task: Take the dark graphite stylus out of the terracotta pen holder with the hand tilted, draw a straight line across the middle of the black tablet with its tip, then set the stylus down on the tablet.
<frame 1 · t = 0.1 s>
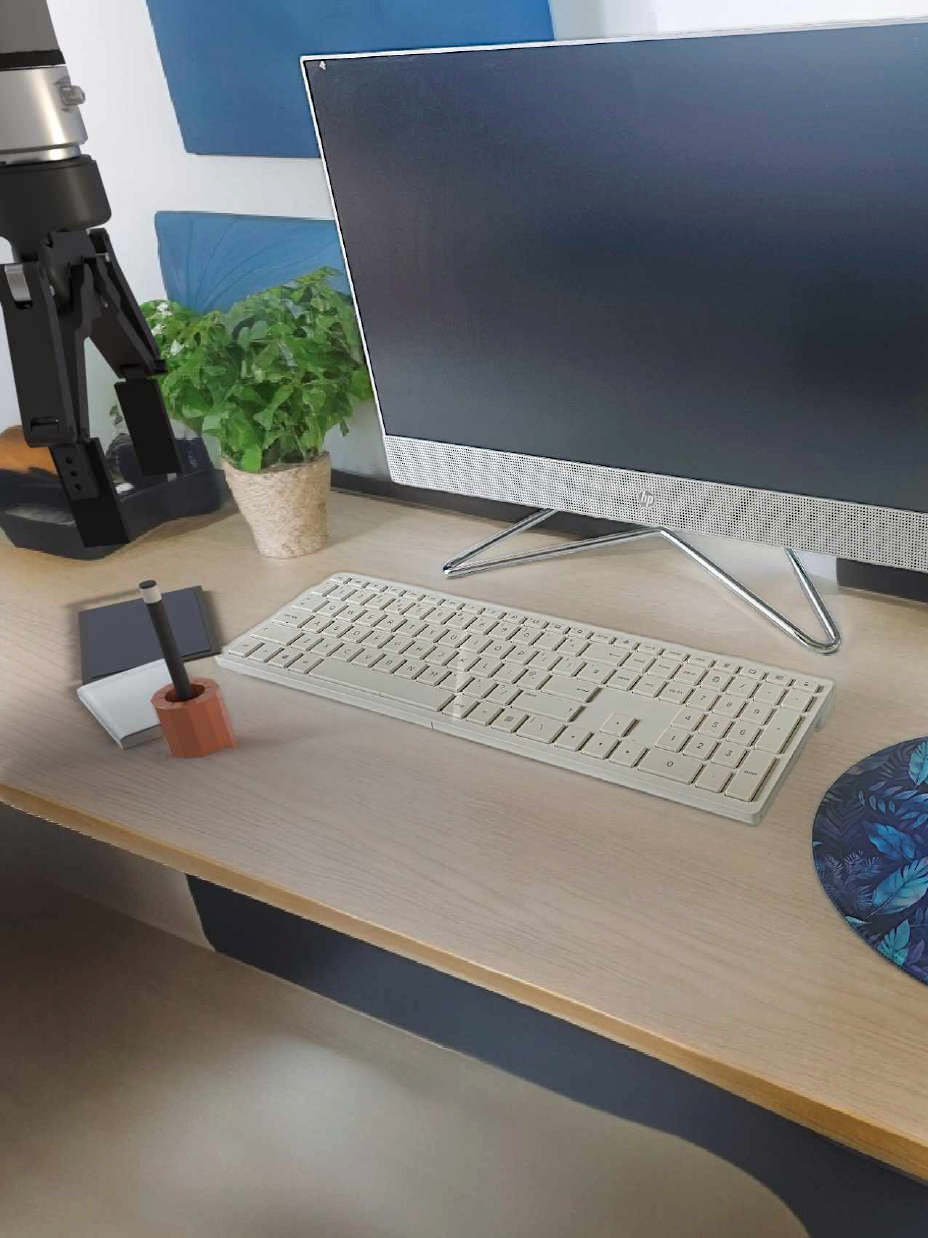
hand: (138, 506, 80), 24 cm above the table, tool pointing down, fingers open, 13 cm apart
hard drive: (151, 712, 105), on the table
stylus: (204, 750, 98), resting on pen holder
tablet: (148, 637, 118), on the table
pen holder: (206, 756, 98), on the table
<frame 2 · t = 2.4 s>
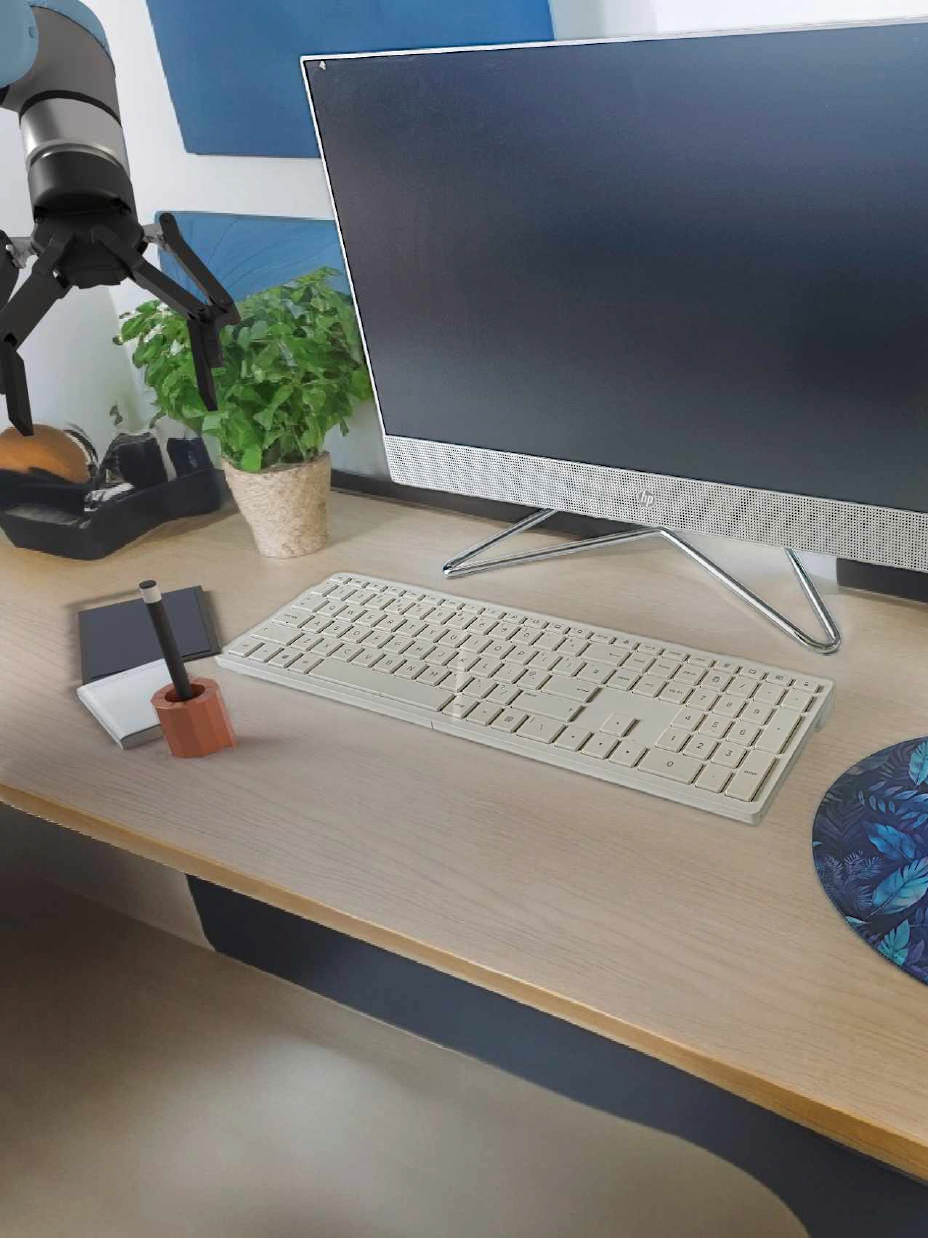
hand: (116, 415, 92), 26 cm above the table, tool tilted 45°, fingers open, 13 cm apart
nothing on the table moved.
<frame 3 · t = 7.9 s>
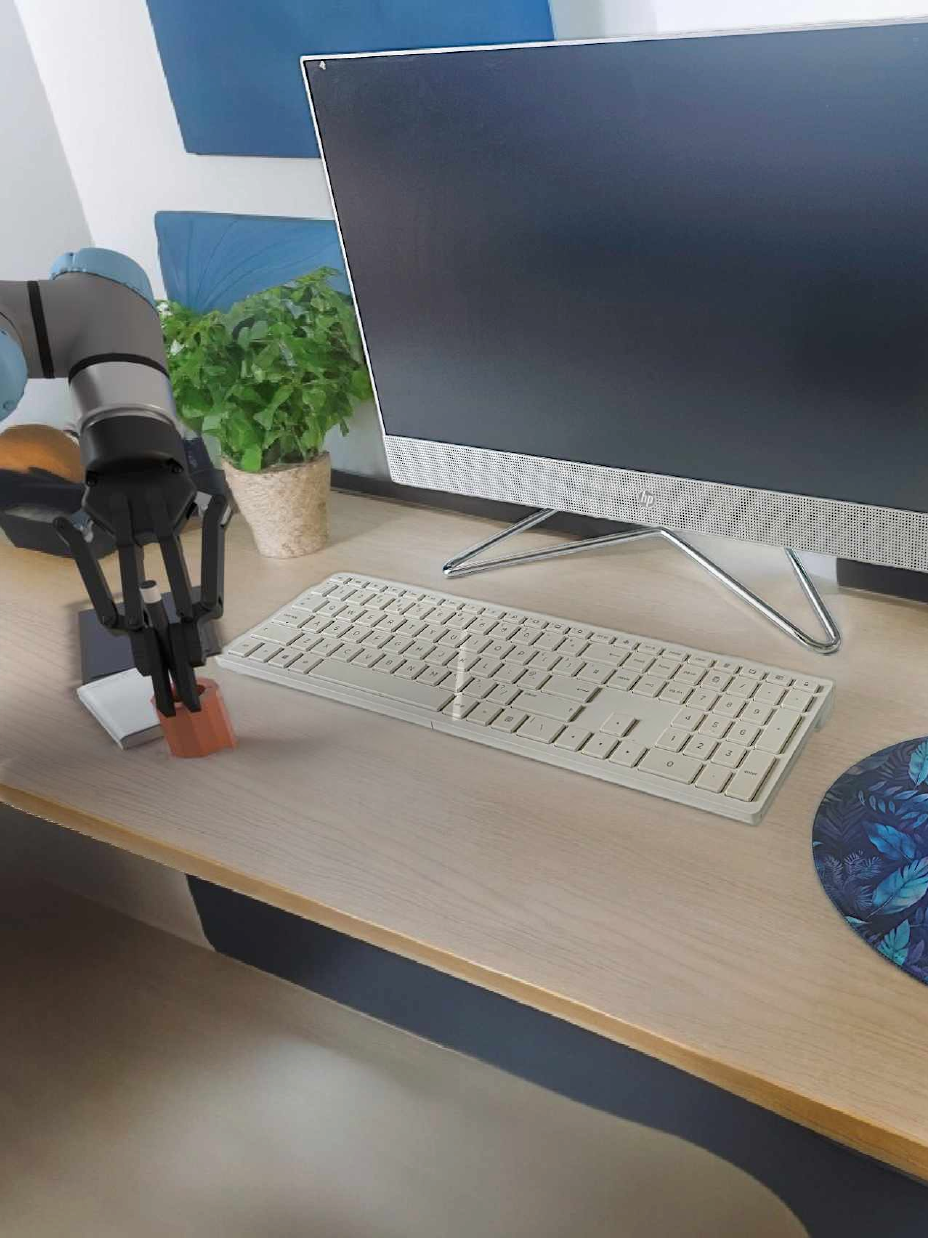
hand: (179, 709, 91), 7 cm above the table, tool tilted 45°, fingers closed on stylus
stylus: (204, 750, 98), point 1 cm above the table, touching gripper, pen holder
everything else where it was.
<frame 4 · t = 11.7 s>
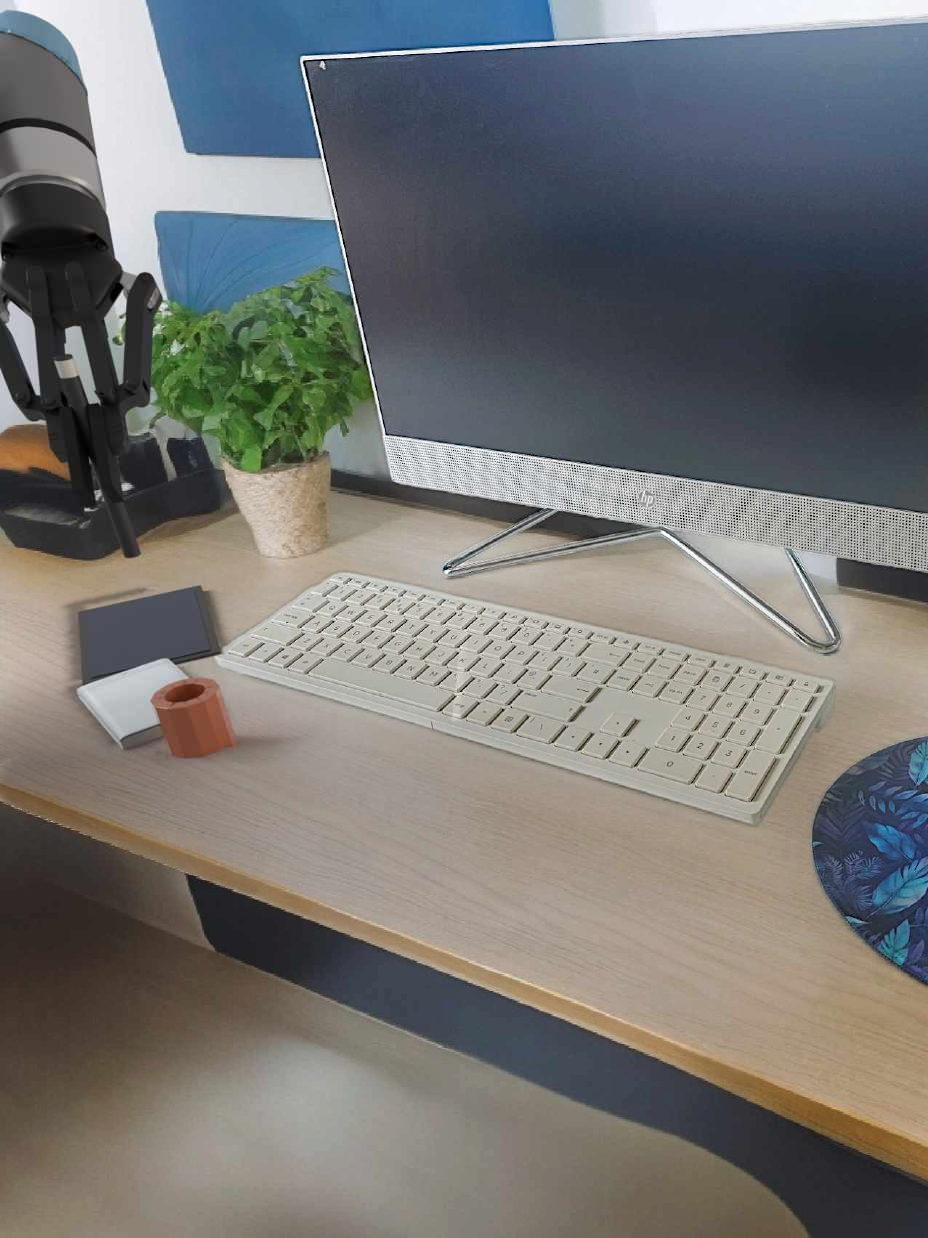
hand: (98, 495, 85), 23 cm above the table, tool tilted 45°, fingers closed on stylus
stylus: (132, 555, 91), point 17 cm above the table, touching gripper
everything else where it was.
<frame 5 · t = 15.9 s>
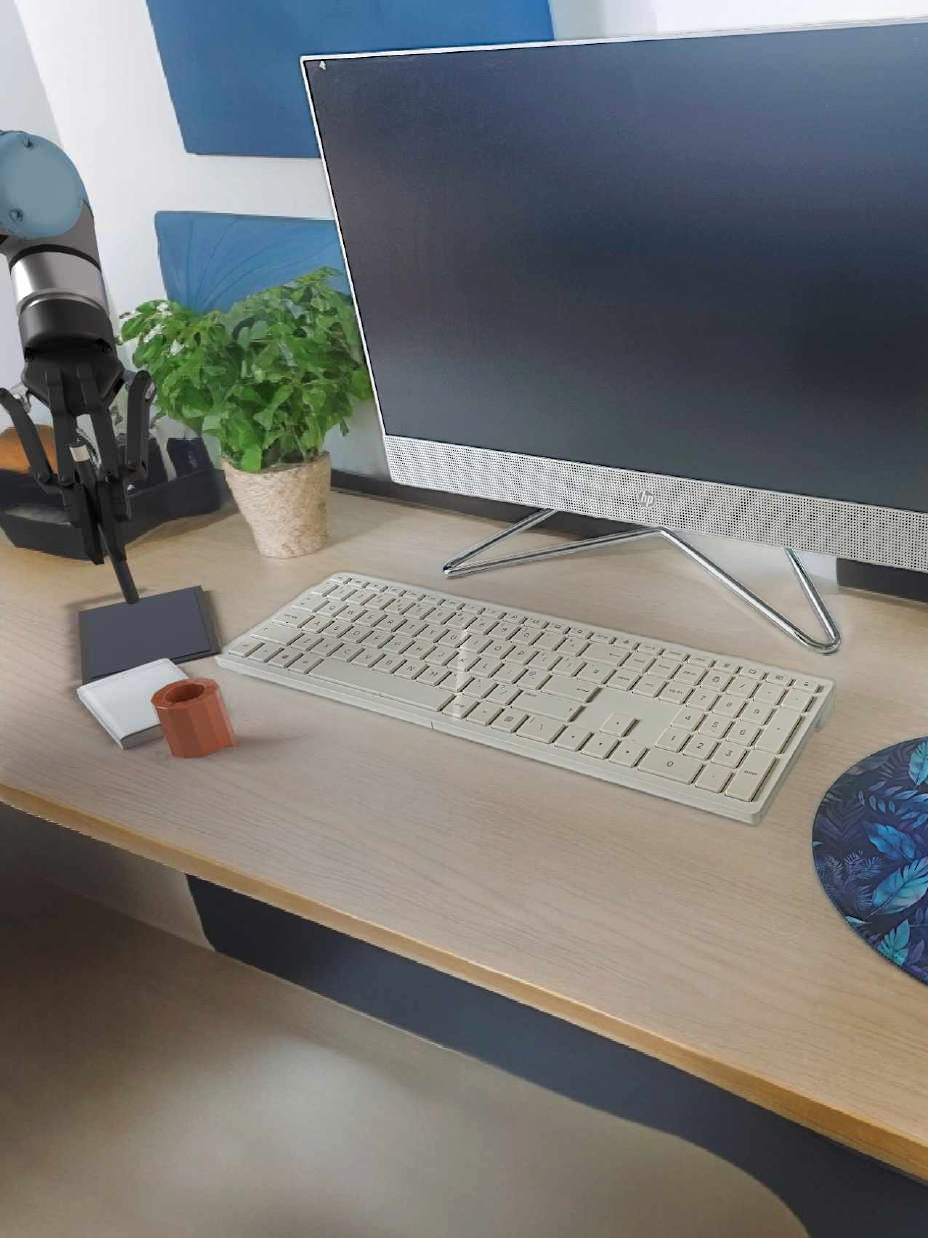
hand: (106, 556, 104), 12 cm above the table, tool tilted 45°, fingers closed on stylus
stylus: (133, 601, 110), point 6 cm above the table, touching gripper
everything else where it was.
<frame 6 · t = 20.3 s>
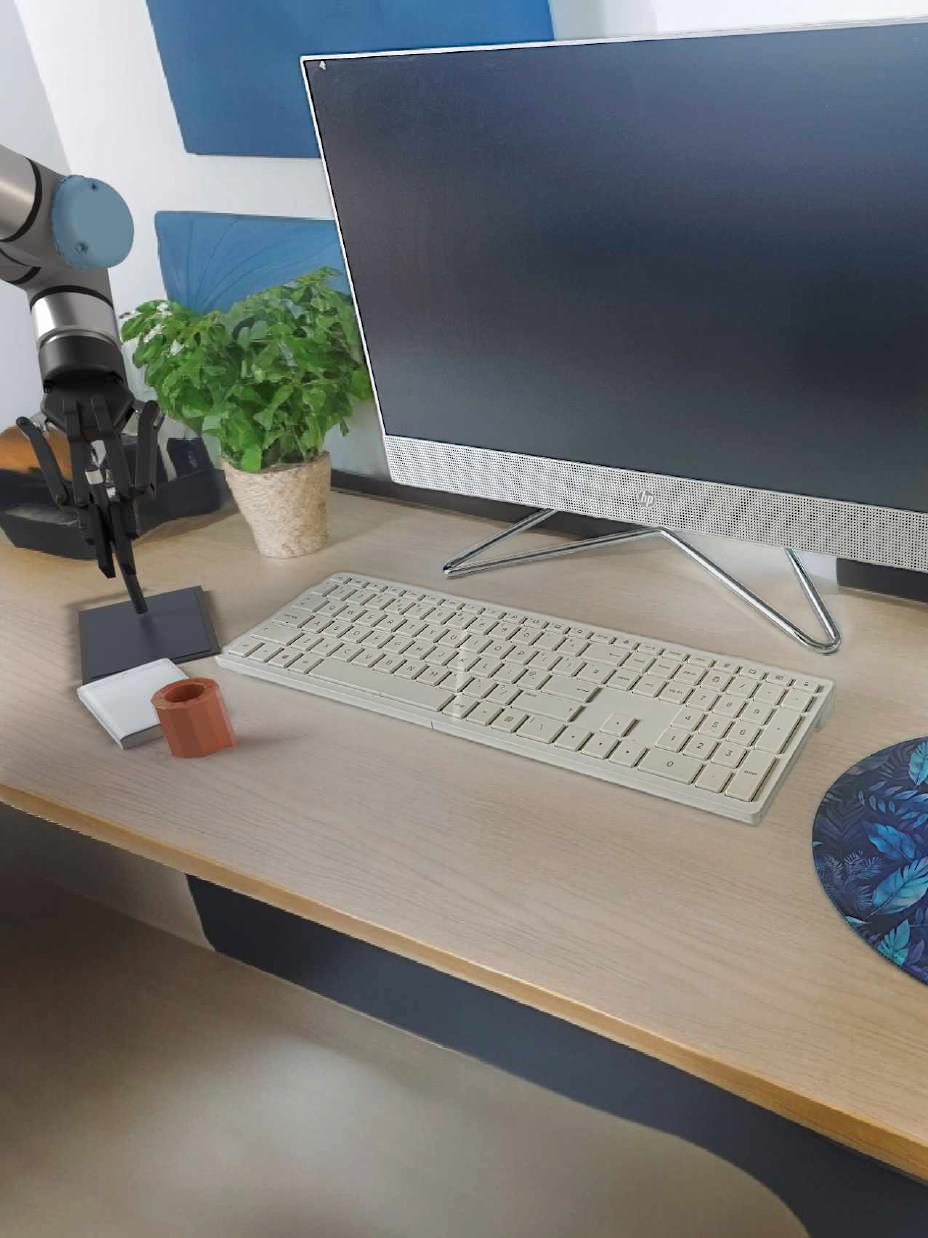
hand: (117, 570, 114), 7 cm above the table, tool tilted 45°, fingers closed on stylus
stylus: (142, 611, 120), point 1 cm above the table, touching gripper
everything else where it was.
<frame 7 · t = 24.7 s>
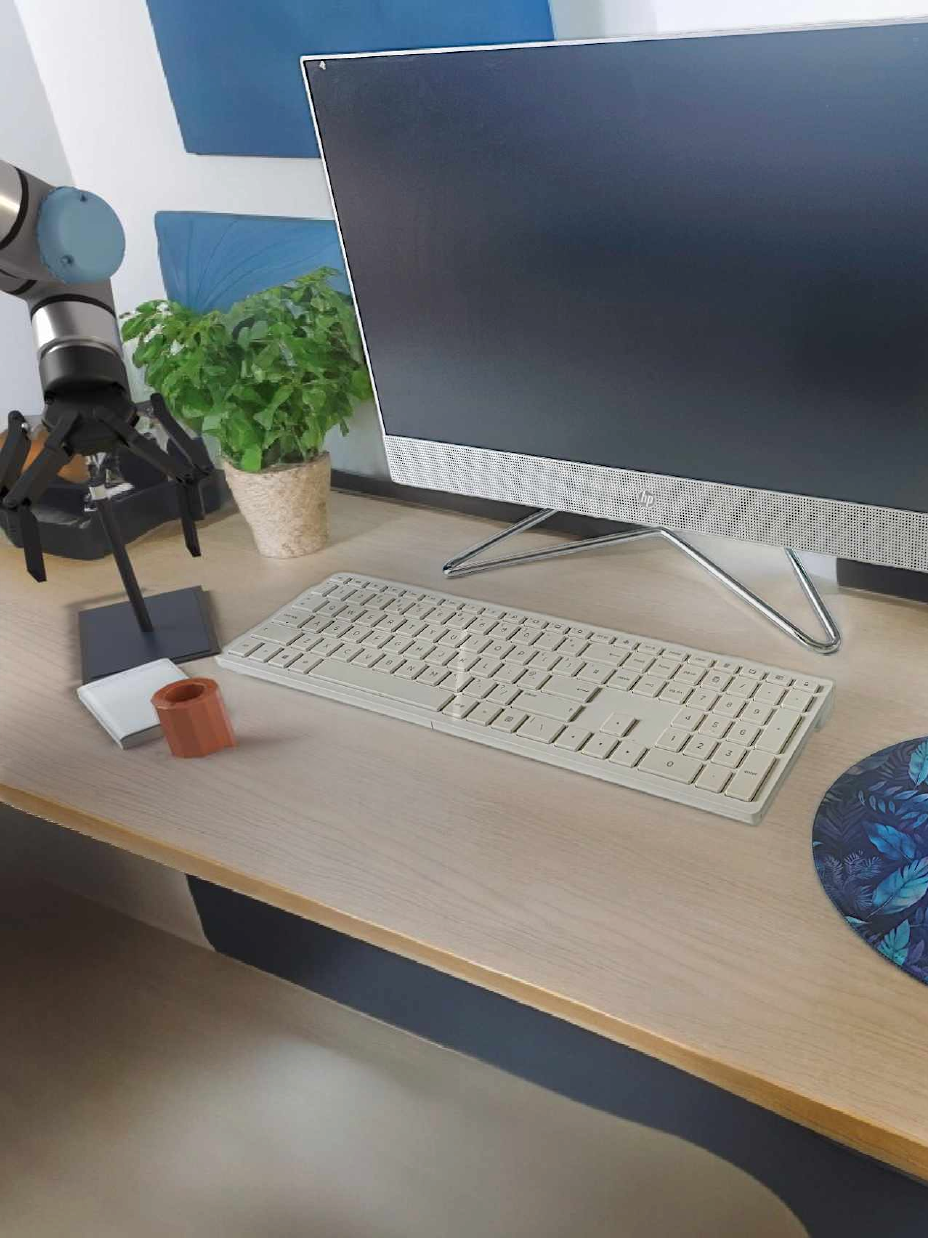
hand: (116, 564, 111), 9 cm above the table, tool tilted 45°, fingers open, 13 cm apart
stylus: (146, 629, 118), point 1 cm above the table, touching tablet
everything else where it was.
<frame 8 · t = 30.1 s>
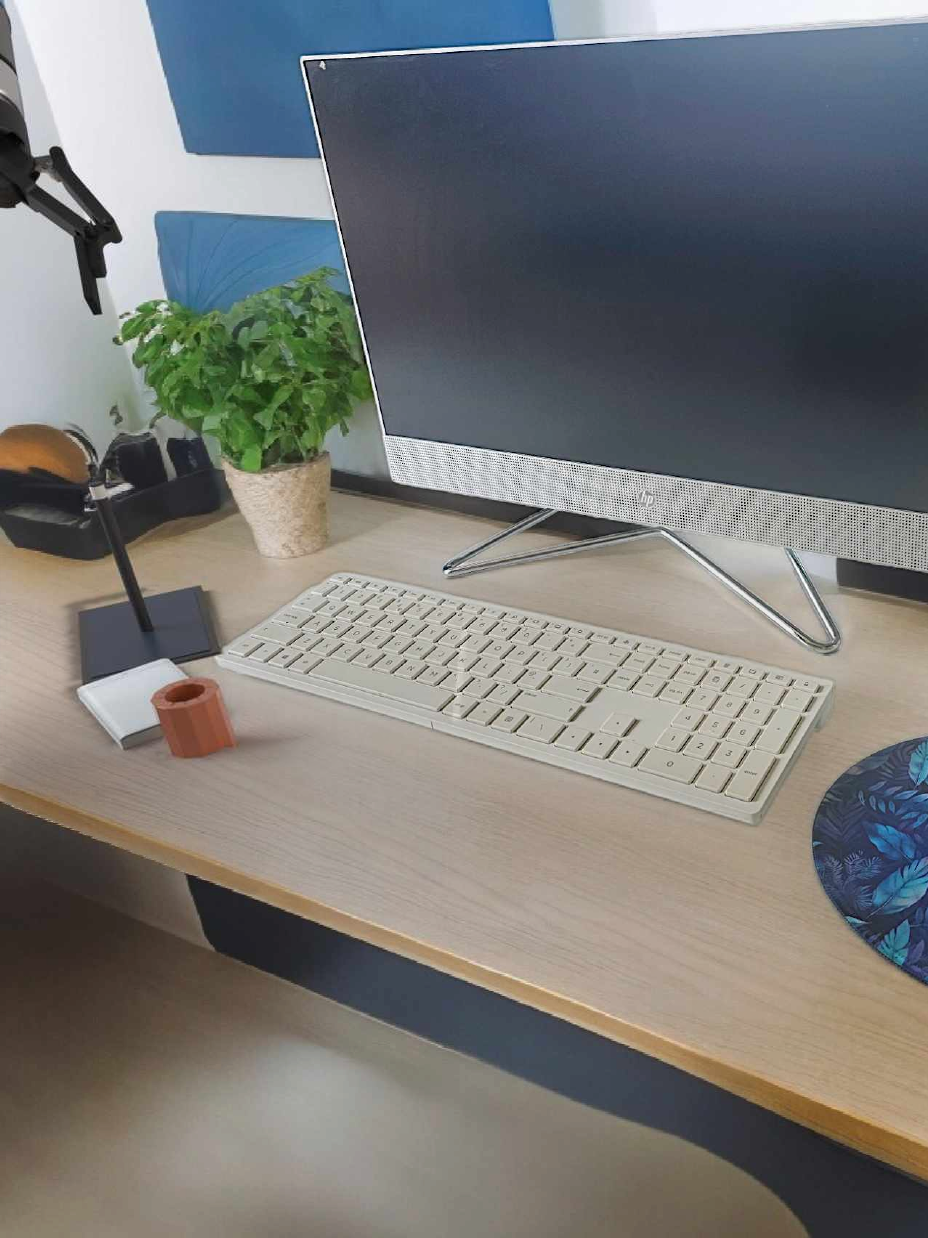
hand: (11, 315, 107), 30 cm above the table, tool tilted 45°, fingers open, 13 cm apart
nothing on the table moved.
at the end: stylus moved 27.4 cm from its start; stylus inside the target area on the tablet (0.1 cm from its centre), point 0.8 cm above the tablet's base; the gripper is holding nothing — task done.
